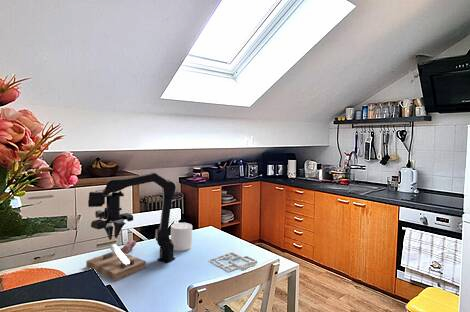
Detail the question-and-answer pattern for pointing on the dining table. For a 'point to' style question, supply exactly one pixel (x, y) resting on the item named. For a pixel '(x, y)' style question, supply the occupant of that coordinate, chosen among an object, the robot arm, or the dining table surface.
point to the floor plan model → (225, 256)
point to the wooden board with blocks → (115, 266)
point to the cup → (181, 236)
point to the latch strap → (119, 254)
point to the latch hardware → (112, 256)
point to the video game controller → (128, 246)
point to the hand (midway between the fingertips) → (113, 238)
